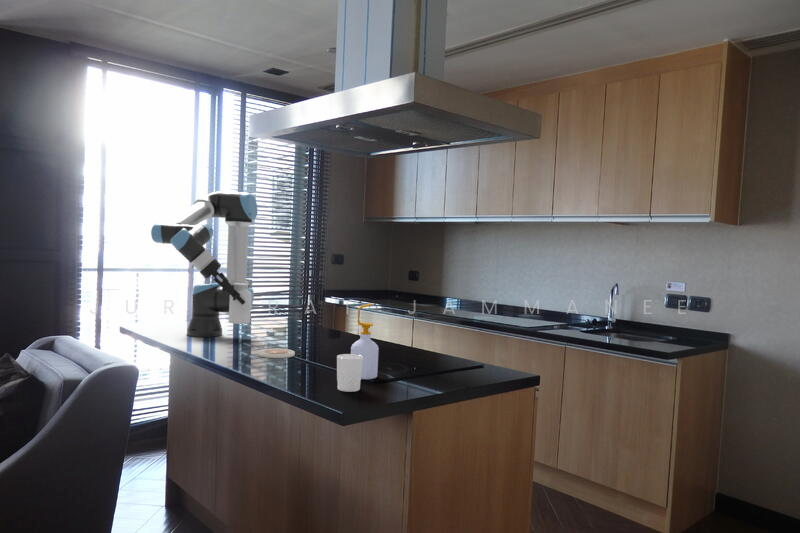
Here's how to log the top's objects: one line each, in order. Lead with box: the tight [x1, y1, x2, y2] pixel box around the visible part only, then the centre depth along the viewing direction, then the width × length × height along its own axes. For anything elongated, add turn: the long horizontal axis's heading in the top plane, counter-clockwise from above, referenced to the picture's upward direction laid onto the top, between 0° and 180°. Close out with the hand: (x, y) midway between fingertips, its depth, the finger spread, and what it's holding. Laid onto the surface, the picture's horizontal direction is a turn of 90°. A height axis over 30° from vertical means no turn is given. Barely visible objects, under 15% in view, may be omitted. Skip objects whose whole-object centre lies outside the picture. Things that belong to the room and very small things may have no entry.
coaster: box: [257, 348, 296, 359], centre depth 224 cm, size 14×14×1 cm
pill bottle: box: [228, 283, 252, 325], centre depth 222 cm, size 8×8×15 cm
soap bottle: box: [350, 302, 380, 380], centre depth 194 cm, size 9×9×25 cm
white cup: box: [336, 353, 363, 393], centre depth 176 cm, size 8×8×10 cm
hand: (249, 308), depth 223 cm, fingers closed on pill bottle, 8 cm apart
